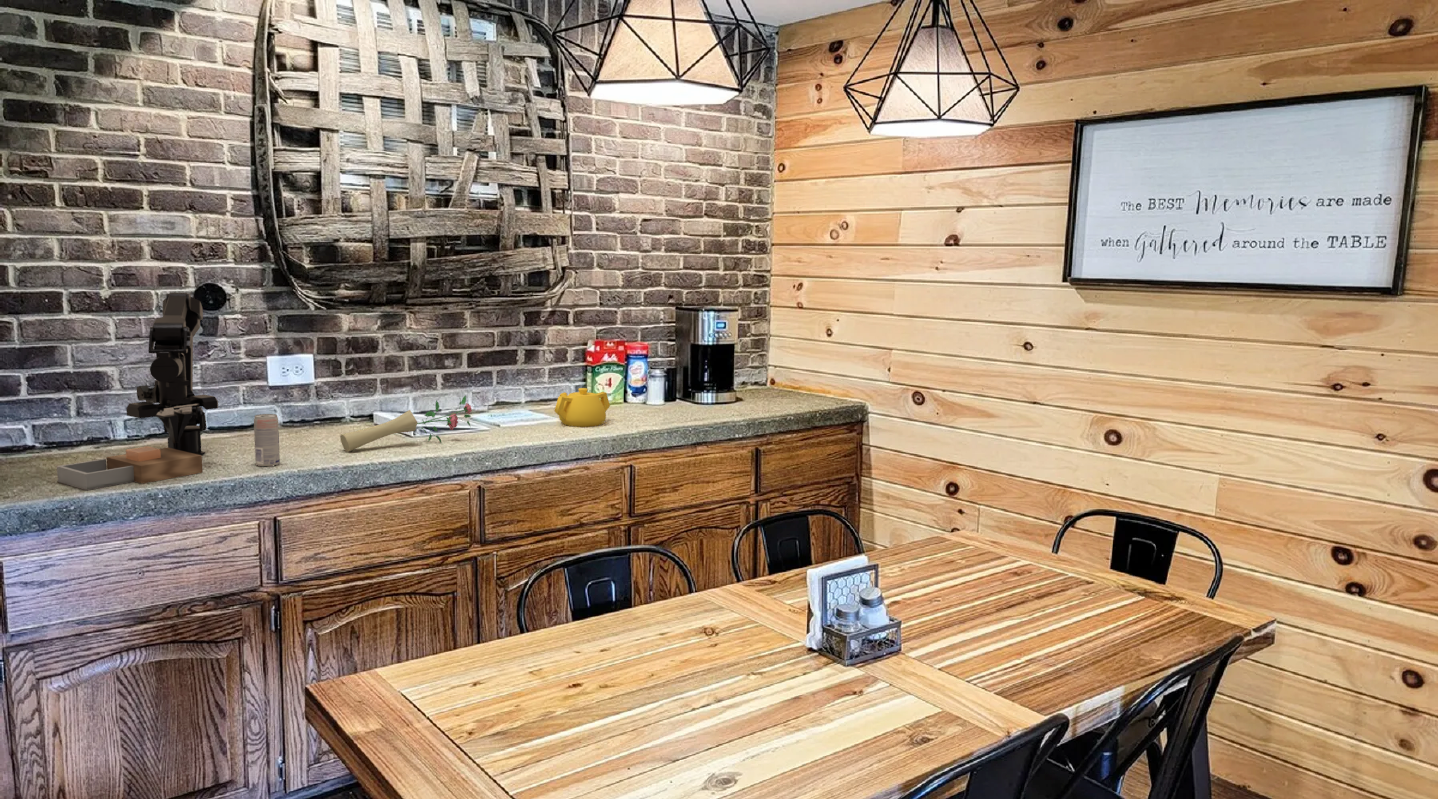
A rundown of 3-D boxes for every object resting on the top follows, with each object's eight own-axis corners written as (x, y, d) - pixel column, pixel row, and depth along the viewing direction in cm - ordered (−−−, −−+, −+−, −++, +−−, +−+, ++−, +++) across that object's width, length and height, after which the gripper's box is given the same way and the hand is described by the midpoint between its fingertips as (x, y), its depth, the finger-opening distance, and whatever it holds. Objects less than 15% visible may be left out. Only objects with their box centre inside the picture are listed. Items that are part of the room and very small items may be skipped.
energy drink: (276, 461, 247) (274, 413, 245) (282, 465, 242) (280, 416, 241) (253, 463, 243) (251, 414, 241) (258, 467, 239) (257, 418, 237)
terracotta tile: (148, 454, 231) (148, 446, 231) (160, 457, 229) (160, 449, 228) (126, 458, 227) (125, 449, 227) (138, 461, 225) (138, 452, 224)
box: (105, 473, 229) (104, 458, 228) (134, 481, 223) (133, 466, 222) (57, 481, 220) (56, 466, 220) (86, 490, 214) (85, 474, 214)
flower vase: (349, 476, 264) (466, 434, 286) (364, 472, 255) (484, 428, 276) (333, 434, 264) (452, 395, 285) (347, 428, 254) (469, 388, 275)
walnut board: (168, 463, 240) (167, 447, 240) (202, 472, 233) (201, 455, 232) (107, 474, 228) (106, 457, 228) (141, 483, 221) (140, 465, 221)
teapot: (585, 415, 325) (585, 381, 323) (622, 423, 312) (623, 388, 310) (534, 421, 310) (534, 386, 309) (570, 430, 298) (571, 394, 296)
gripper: (190, 369, 243) (193, 432, 246) (111, 376, 228) (115, 444, 230) (218, 373, 238) (221, 438, 240) (138, 381, 222) (142, 450, 225)
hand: (175, 442), depth 234 cm, fingers closed
